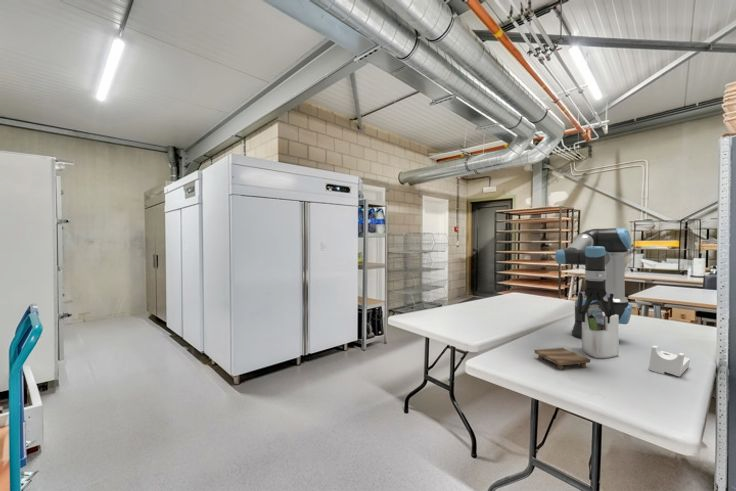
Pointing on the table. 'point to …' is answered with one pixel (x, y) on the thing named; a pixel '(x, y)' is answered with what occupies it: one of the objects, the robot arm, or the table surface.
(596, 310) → the beverage can
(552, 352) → the wooden serving board
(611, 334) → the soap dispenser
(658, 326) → the table surface
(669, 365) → the white pipe support bracket
